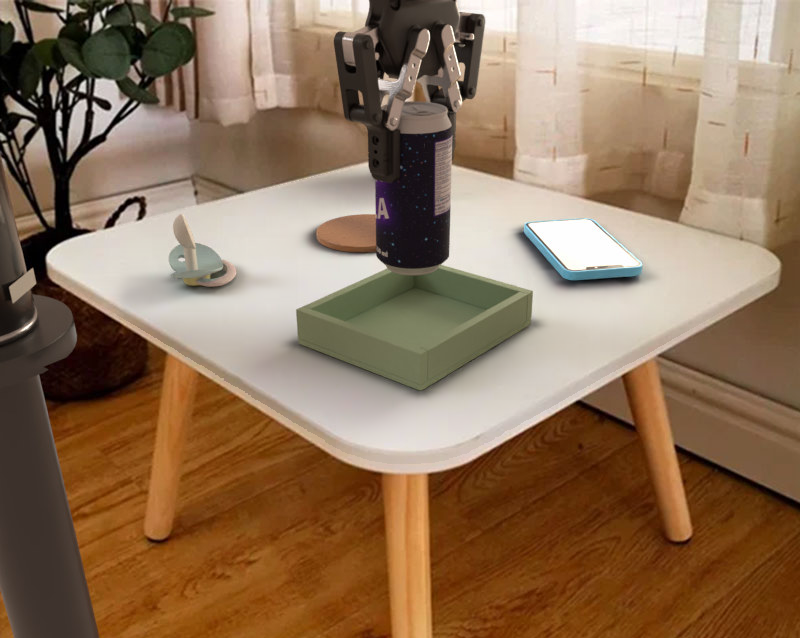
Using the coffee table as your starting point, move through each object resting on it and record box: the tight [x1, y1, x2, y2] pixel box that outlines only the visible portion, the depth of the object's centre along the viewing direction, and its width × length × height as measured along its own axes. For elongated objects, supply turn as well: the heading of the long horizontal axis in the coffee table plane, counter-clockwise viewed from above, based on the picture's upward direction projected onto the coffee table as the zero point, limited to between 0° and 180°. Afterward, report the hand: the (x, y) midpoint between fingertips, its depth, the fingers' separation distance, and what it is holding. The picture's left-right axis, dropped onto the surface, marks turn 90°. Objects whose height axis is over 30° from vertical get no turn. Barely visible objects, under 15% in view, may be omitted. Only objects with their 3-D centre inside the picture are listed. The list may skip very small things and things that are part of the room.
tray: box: [295, 264, 534, 392], centre depth 76 cm, size 15×13×3 cm
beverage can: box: [374, 100, 453, 275], centre depth 71 cm, size 6×6×12 cm
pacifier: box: [168, 213, 237, 288], centre depth 86 cm, size 7×6×6 cm
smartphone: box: [523, 217, 644, 281], centre depth 92 cm, size 8×1×15 cm
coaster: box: [316, 213, 376, 253], centre depth 97 cm, size 10×10×1 cm
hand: (413, 169), depth 70 cm, fingers closed on beverage can, 5 cm apart
